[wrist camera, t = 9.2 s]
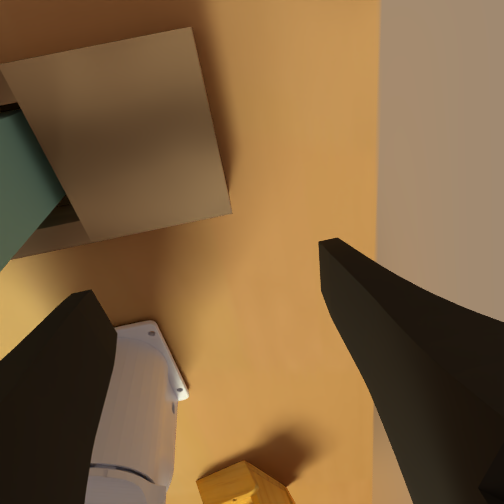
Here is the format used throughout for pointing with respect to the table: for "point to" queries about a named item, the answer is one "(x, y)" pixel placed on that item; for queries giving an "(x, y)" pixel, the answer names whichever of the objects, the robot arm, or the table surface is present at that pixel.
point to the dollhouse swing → (242, 487)
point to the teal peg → (23, 184)
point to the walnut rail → (121, 137)
